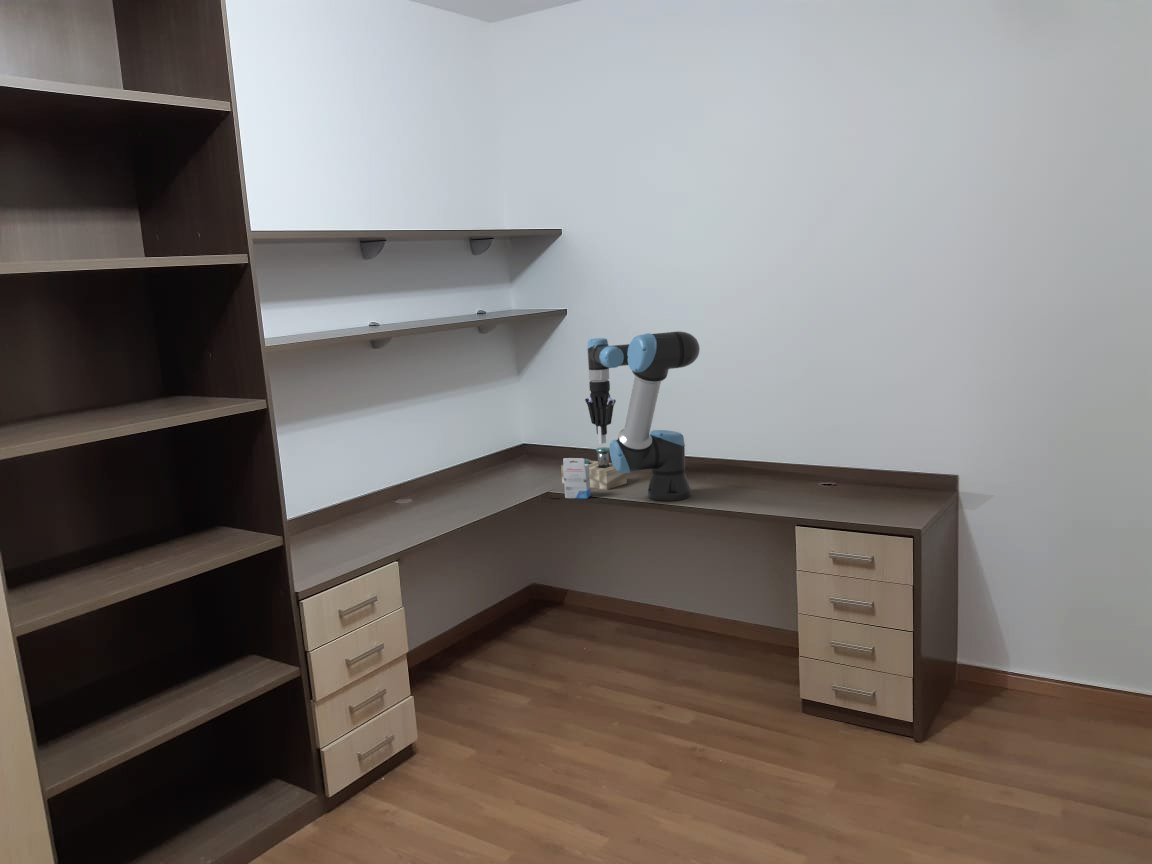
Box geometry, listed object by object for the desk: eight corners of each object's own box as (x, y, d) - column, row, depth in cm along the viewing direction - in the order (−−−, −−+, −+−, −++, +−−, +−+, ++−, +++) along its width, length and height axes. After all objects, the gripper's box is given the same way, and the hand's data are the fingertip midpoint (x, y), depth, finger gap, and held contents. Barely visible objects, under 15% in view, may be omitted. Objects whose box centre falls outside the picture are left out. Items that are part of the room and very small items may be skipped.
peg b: (613, 468, 341) (612, 448, 340) (604, 471, 337) (603, 450, 336) (602, 467, 345) (601, 446, 343) (594, 469, 341) (593, 449, 339)
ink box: (591, 495, 327) (589, 455, 324) (587, 499, 322) (585, 458, 320) (569, 494, 330) (566, 455, 327) (564, 498, 325) (562, 457, 322)
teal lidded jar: (593, 479, 349) (592, 459, 347) (584, 482, 345) (583, 462, 343) (583, 477, 352) (582, 458, 351) (574, 480, 348) (573, 460, 347)
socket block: (626, 483, 343) (626, 464, 341) (607, 489, 334) (606, 471, 332) (582, 476, 357) (581, 459, 356) (562, 483, 348) (561, 465, 347)
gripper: (619, 379, 334) (622, 442, 338) (592, 378, 342) (595, 439, 346) (606, 382, 328) (609, 446, 332) (579, 381, 336) (582, 443, 341)
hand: (602, 442), depth 339 cm, fingers closed
